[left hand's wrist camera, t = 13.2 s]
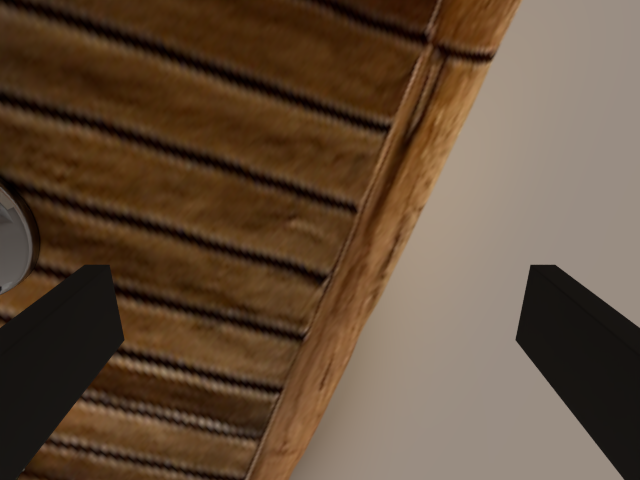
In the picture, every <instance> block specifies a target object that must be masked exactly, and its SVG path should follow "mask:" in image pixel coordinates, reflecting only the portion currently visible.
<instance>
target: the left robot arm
mask: <svg viewBox="0 0 640 480" xmlns="http://www.w3.org/2000/svg"><path fill="white" fill-rule="evenodd" d="M39 248H40V243H39V233H38V229H37V226H36V223H35V220H34V218H33V216H32V214H31V212H30V210H29V208H28V207H27V205H26V204H25V202H24V201H23V199H22V198H21V197H20V196H19V194H18V193H17V192H16V191H15V190H14V189H13V188H12V187H11V186H10V185H9V184H8V183H6V182H5V181H4V180H3V179H1V178H0V295H1V294H3V293H5V292H7V291H9V290H10V289H12V288H13V287H15V286H16V285H18V284H19V283H21V282H22V281H24V280H25V279H26V278H27V277H28V276H29V274H30V273H31V272H32V270H33V269H34V267H35V265H36V262H37V259H38V255H39ZM123 341H124V335H123V330H122V325H121V320H120V315H119V310H118V305H117V300H116V295H115V290H114V285H113V280H112V275H111V270H110V265H84V266H83V267H81V268H80V269H79V270H77V271H76V272H75V273H73V274H72V275H71V276H69V277H68V278H67V279H65V280H64V281H63V282H61V283H60V284H59V285H57V286H56V287H54V288H53V289H52V290H50V291H49V292H48V293H46V294H45V295H44V296H42V297H41V298H40V299H38V300H37V301H36V302H34V303H33V304H32V305H30V306H29V307H28V308H26V309H25V310H24V311H22V312H21V313H20V314H18V315H17V316H16V317H14V318H13V319H12V320H10V321H9V322H8V323H6V324H5V325H4V326H2V327H1V328H0V480H16V479H17V477H18V476H19V475H20V473H21V472H22V471H23V470H24V468H25V467H26V466H27V464H28V463H29V462H30V461H31V459H32V458H33V457H34V455H35V454H36V453H37V452H38V450H39V449H40V448H41V446H42V445H43V444H44V443H45V441H46V440H47V439H48V437H49V436H50V435H51V434H52V432H53V431H54V430H55V428H56V427H57V426H58V425H59V423H60V422H61V421H62V419H63V418H64V417H65V416H66V414H67V413H68V412H69V411H70V409H71V408H72V407H73V405H74V404H75V403H76V402H77V400H78V399H79V398H80V396H81V395H82V394H83V393H84V391H85V390H86V389H87V387H88V386H89V385H90V384H91V382H92V381H93V380H94V378H95V377H96V376H97V375H98V373H99V372H100V371H101V369H102V368H103V367H104V366H105V364H106V363H107V362H108V360H109V359H110V358H111V357H112V355H113V354H114V353H115V352H116V350H117V349H118V348H119V346H120V345H121V344H122V343H123ZM516 341H517V343H518V344H519V345H520V346H521V348H522V349H523V350H524V351H525V353H526V354H527V355H528V357H529V358H530V359H531V360H532V362H533V363H534V364H535V366H536V367H537V368H538V369H539V371H540V372H541V373H542V375H543V376H544V377H545V378H546V380H547V381H548V382H549V384H550V385H551V386H552V387H553V389H554V390H555V391H556V393H557V394H558V395H559V396H560V398H561V399H562V400H563V401H564V403H565V404H566V405H567V407H568V408H569V409H570V410H571V412H572V413H573V414H574V416H575V417H576V418H577V419H578V421H579V422H580V423H581V425H582V426H583V427H584V428H585V430H586V431H587V432H588V434H589V435H590V436H591V437H592V439H593V440H594V441H595V443H596V444H597V445H598V446H599V448H600V449H601V450H602V452H603V453H604V454H605V455H606V457H607V458H608V459H609V460H610V462H611V463H612V464H613V466H614V467H615V468H616V470H617V471H618V472H619V473H620V475H621V476H622V477H623V479H624V480H640V328H639V327H638V326H636V325H635V324H634V323H632V322H631V321H630V320H628V319H627V318H626V317H624V316H623V315H622V314H620V313H619V312H618V311H616V310H615V309H614V308H612V307H611V306H610V305H608V304H607V303H606V302H604V301H603V300H602V299H600V298H599V297H598V296H596V295H595V294H594V293H592V292H591V291H589V290H588V289H587V288H585V287H584V286H583V285H581V284H580V283H579V282H577V281H576V280H575V279H573V278H572V277H571V276H569V275H568V274H567V273H565V272H564V271H563V270H561V269H560V268H559V267H557V266H556V265H530V270H529V275H528V280H527V285H526V290H525V295H524V300H523V305H522V310H521V315H520V320H519V325H518V330H517V335H516Z"/></svg>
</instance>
